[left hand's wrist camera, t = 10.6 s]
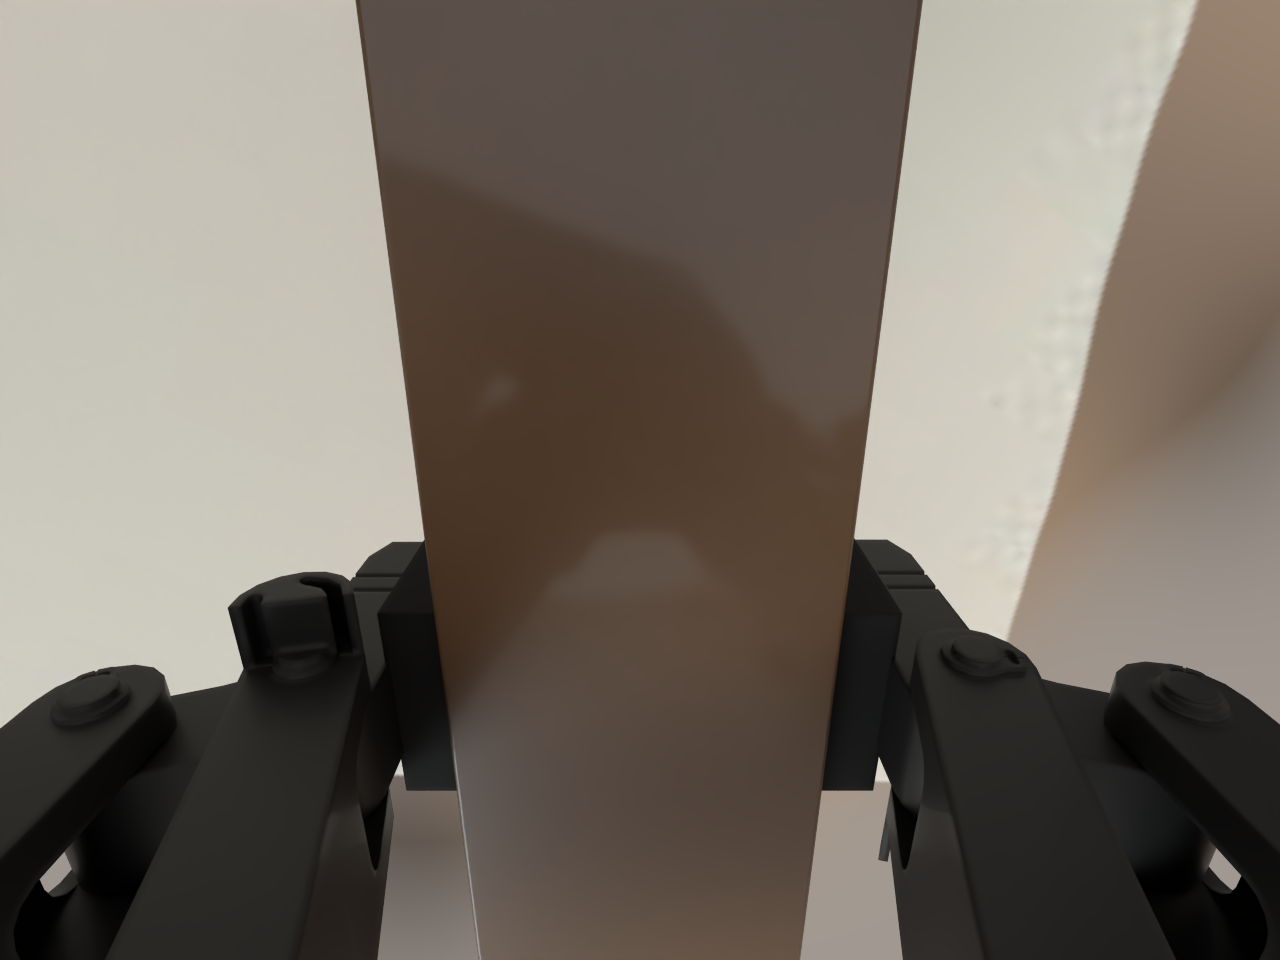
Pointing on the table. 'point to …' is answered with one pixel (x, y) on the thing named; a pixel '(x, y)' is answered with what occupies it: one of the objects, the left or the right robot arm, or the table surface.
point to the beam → (639, 435)
